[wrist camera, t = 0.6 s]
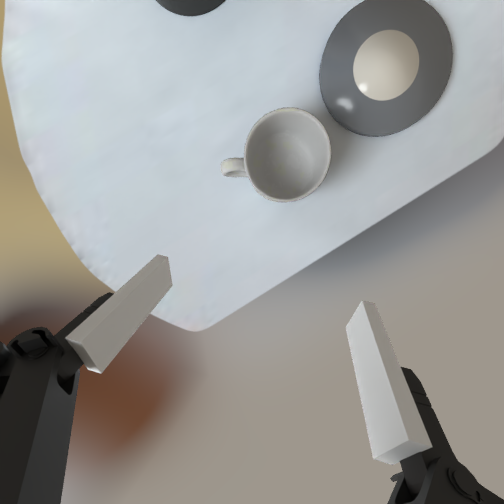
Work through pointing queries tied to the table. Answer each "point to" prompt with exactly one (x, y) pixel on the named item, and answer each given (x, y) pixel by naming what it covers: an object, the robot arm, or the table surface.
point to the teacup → (284, 155)
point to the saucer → (385, 66)
